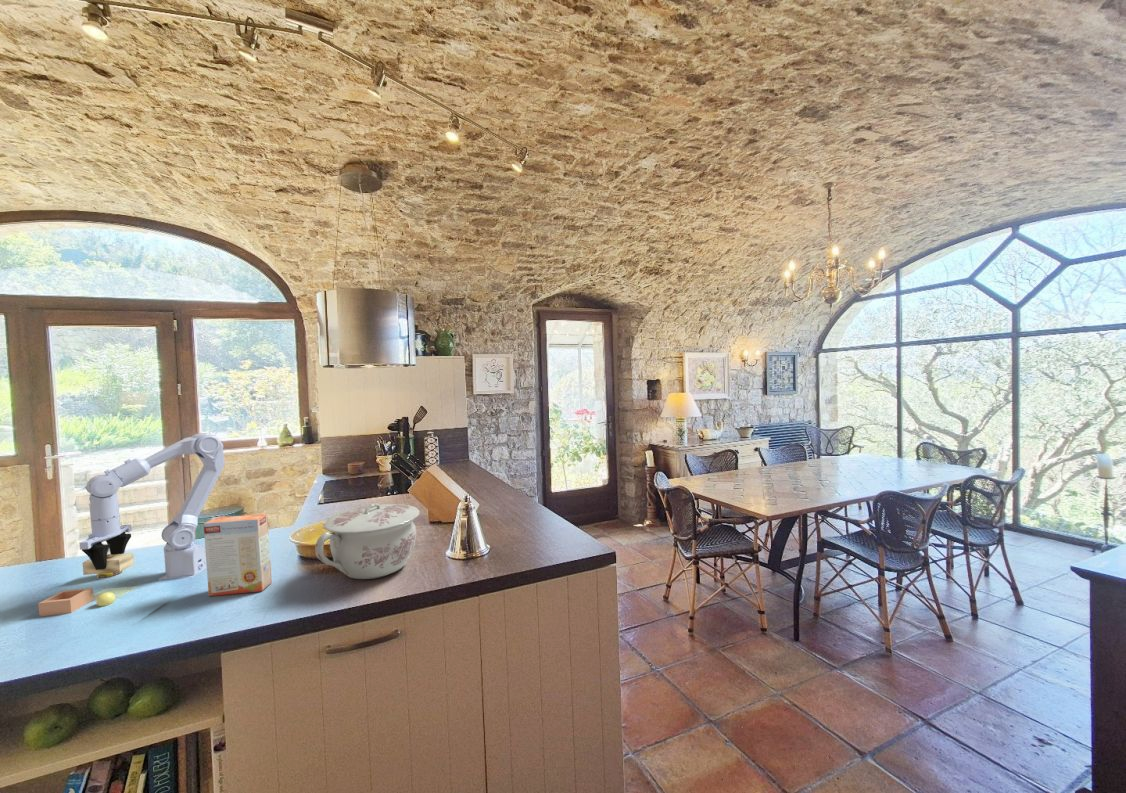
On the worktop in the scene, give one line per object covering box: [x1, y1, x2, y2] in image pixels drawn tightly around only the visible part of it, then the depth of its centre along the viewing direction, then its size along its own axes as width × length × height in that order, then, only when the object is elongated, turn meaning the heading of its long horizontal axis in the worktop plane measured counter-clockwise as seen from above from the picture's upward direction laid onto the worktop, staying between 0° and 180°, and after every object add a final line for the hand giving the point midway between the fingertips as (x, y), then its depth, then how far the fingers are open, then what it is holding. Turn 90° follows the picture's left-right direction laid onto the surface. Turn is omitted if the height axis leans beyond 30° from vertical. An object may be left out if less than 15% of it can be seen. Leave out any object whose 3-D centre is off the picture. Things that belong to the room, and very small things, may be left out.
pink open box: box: [37, 587, 94, 617], centre depth 121 cm, size 7×7×4 cm
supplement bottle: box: [96, 543, 123, 580], centre depth 142 cm, size 6×6×10 cm
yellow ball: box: [95, 592, 116, 607], centre depth 123 cm, size 4×4×4 cm
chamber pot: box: [314, 502, 421, 580], centre depth 140 cm, size 28×28×21 cm
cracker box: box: [203, 513, 273, 597], centre depth 130 cm, size 14×6×21 cm, turn 97°
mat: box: [93, 585, 139, 601], centre depth 129 cm, size 9×7×1 cm
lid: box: [82, 552, 135, 576], centre depth 129 cm, size 9×5×4 cm, turn 98°
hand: (109, 564), depth 129 cm, fingers closed on lid, 5 cm apart
